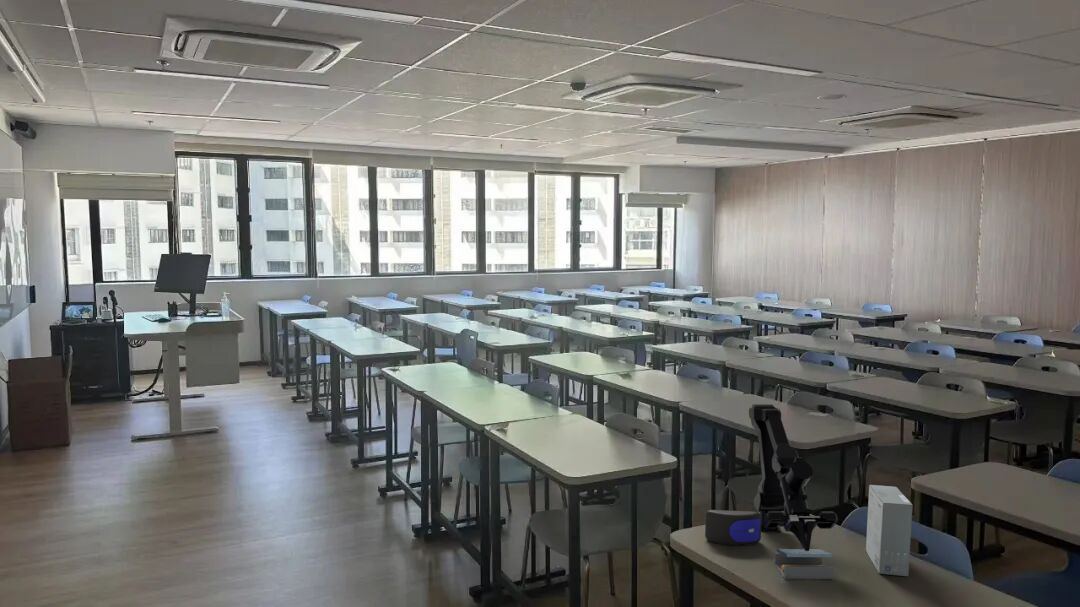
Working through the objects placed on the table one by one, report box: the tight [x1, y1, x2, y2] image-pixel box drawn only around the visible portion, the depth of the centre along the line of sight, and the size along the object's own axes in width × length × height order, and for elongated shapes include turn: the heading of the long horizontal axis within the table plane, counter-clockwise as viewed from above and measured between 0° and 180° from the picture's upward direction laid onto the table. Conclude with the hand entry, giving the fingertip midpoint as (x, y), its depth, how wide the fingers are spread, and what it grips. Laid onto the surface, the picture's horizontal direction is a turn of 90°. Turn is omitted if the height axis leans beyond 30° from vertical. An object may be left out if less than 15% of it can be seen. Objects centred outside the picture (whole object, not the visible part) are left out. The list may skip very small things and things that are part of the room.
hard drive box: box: [865, 484, 914, 577], centre depth 198 cm, size 16×8×20 cm, turn 168°
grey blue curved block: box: [704, 509, 762, 547], centre depth 211 cm, size 16×5×9 cm, turn 84°
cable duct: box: [773, 552, 835, 581], centre depth 193 cm, size 9×13×4 cm, turn 90°
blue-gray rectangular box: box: [776, 548, 833, 558], centre depth 193 cm, size 8×12×1 cm
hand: (807, 550), depth 190 cm, fingers closed
